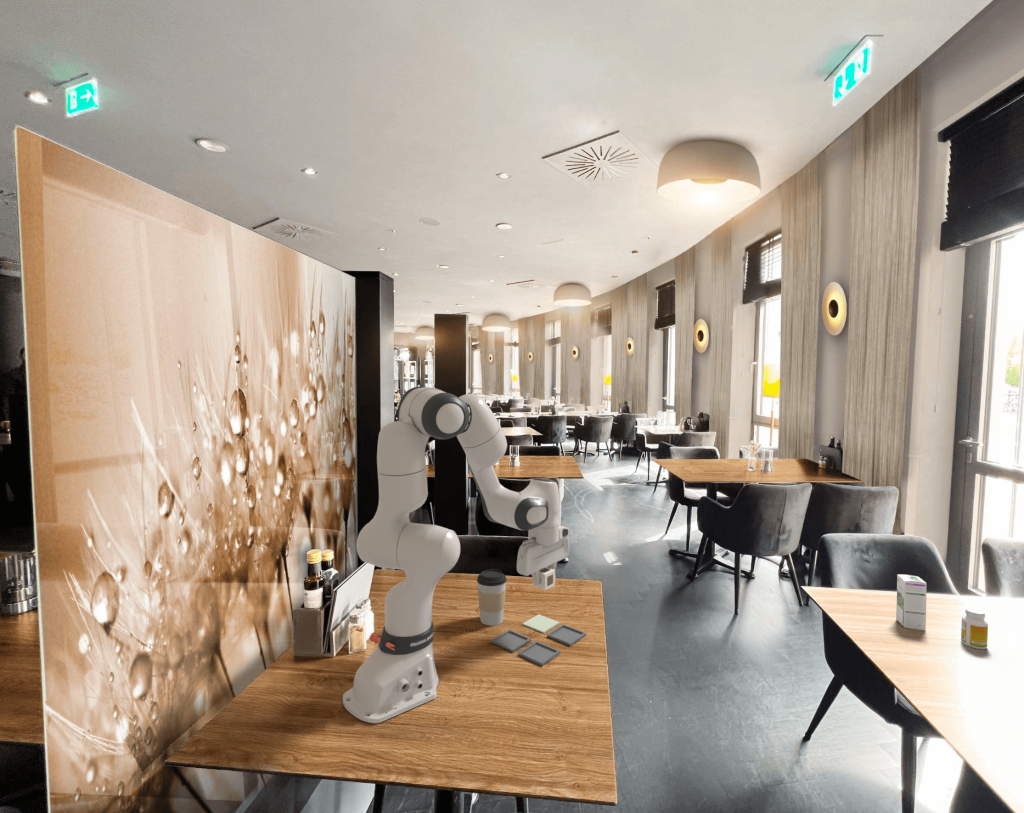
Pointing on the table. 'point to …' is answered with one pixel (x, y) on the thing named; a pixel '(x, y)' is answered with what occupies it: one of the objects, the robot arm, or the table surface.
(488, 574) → the coffee cup
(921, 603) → the syrup box
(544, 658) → the tray
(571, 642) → the tray
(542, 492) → the robot arm
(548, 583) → the letter cube
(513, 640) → the tray
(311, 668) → the table surface
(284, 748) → the table surface
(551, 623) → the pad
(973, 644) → the supplement bottle
